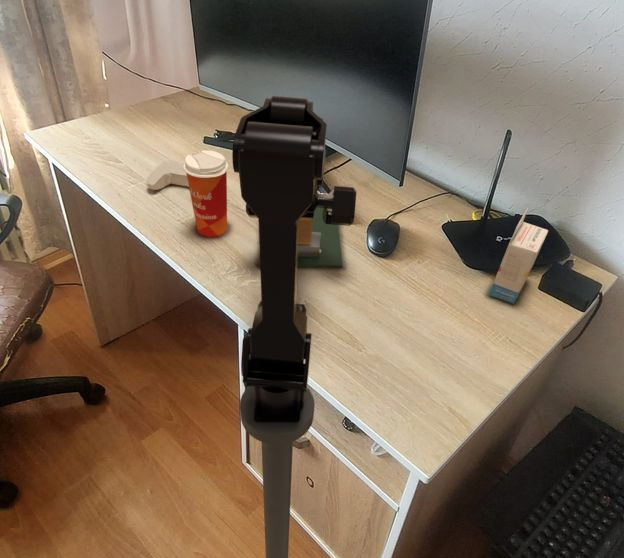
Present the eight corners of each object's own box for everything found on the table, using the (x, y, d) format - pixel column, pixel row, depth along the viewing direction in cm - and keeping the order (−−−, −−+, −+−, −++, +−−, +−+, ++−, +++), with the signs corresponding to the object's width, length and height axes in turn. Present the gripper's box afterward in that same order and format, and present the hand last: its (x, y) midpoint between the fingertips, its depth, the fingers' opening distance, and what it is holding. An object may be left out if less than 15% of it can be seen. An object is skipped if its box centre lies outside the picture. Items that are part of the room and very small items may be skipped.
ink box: (514, 305, 95) (544, 237, 84) (487, 295, 97) (514, 227, 86) (526, 281, 100) (556, 214, 90) (500, 271, 102) (527, 205, 91)
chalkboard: (342, 268, 100) (342, 265, 100) (259, 266, 99) (259, 263, 99) (335, 201, 116) (335, 198, 116) (263, 199, 116) (263, 196, 115)
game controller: (140, 180, 112) (158, 151, 117) (146, 196, 116) (163, 167, 121) (203, 192, 110) (219, 161, 115) (207, 207, 114) (222, 177, 119)
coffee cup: (184, 226, 107) (173, 156, 96) (217, 213, 111) (211, 144, 100) (207, 245, 103) (199, 175, 92) (241, 231, 107) (237, 161, 96)
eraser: (318, 258, 101) (323, 195, 91) (282, 255, 101) (283, 192, 91) (320, 243, 104) (324, 181, 94) (285, 240, 104) (286, 178, 94)
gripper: (362, 144, 82) (355, 175, 98) (245, 135, 83) (257, 166, 98) (356, 215, 83) (350, 234, 98) (239, 205, 83) (252, 226, 99)
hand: (302, 213), depth 98 cm, fingers open, 8 cm apart
